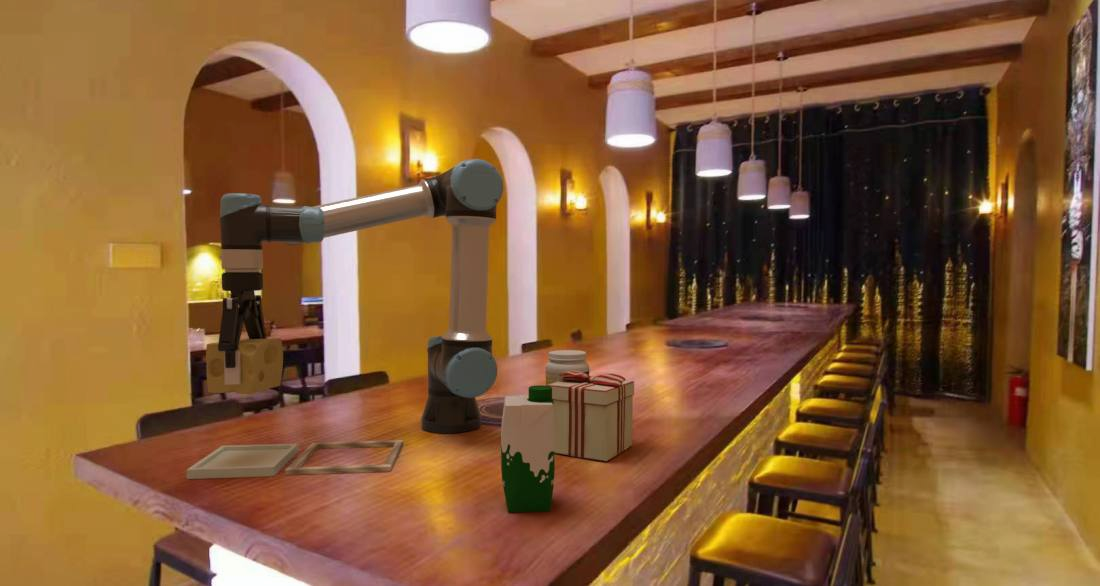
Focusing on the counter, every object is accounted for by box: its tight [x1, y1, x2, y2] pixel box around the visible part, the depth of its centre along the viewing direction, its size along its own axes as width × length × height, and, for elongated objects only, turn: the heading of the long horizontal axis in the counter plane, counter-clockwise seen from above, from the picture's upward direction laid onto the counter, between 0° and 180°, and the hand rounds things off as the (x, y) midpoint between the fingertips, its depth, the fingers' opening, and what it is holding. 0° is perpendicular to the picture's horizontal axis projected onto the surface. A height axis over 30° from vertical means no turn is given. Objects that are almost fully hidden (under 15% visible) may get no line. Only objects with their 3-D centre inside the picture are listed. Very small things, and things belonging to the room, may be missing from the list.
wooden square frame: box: [284, 439, 404, 476], centre depth 132 cm, size 20×19×1 cm
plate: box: [186, 443, 300, 480], centre depth 128 cm, size 16×16×2 cm
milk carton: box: [500, 384, 556, 514], centre depth 106 cm, size 9×9×20 cm
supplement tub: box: [545, 349, 590, 386], centre depth 172 cm, size 12×12×17 cm
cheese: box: [205, 337, 284, 395], centre depth 127 cm, size 10×11×10 cm
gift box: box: [545, 370, 635, 462], centre depth 140 cm, size 17×18×17 cm
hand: (244, 378), depth 127 cm, fingers closed on cheese, 11 cm apart
